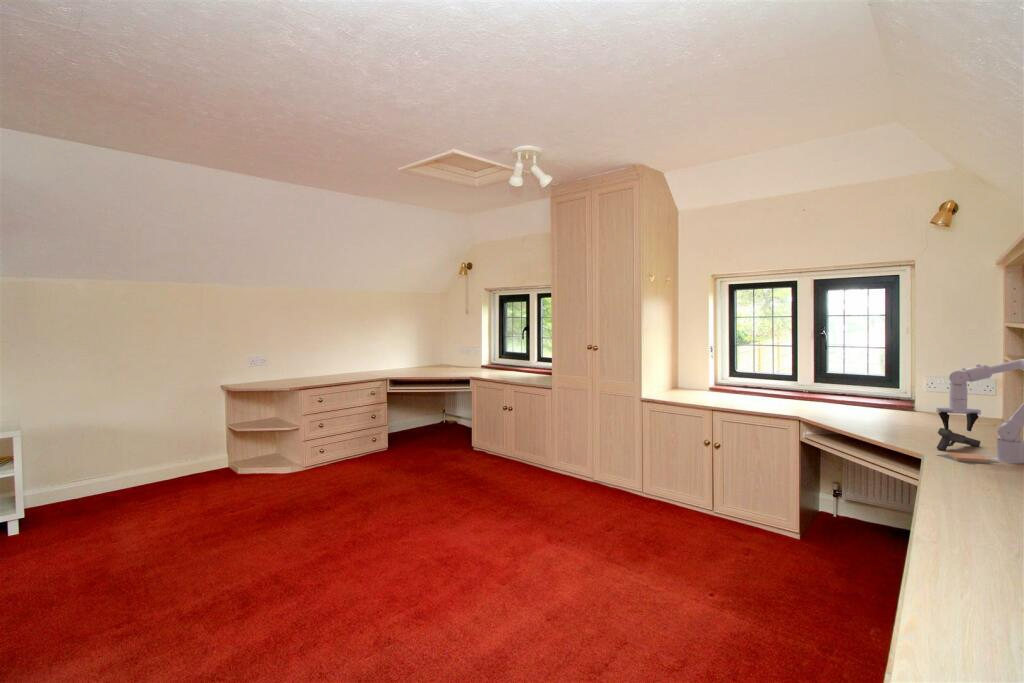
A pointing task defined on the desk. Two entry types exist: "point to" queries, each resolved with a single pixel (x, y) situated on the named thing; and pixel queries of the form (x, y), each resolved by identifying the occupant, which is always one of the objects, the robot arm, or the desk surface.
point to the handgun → (954, 439)
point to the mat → (966, 462)
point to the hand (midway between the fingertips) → (957, 430)
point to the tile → (968, 457)
